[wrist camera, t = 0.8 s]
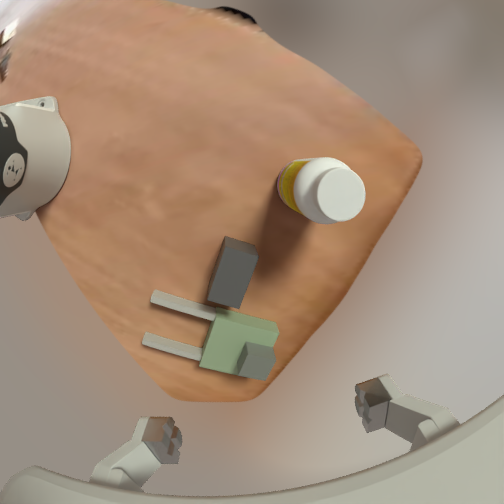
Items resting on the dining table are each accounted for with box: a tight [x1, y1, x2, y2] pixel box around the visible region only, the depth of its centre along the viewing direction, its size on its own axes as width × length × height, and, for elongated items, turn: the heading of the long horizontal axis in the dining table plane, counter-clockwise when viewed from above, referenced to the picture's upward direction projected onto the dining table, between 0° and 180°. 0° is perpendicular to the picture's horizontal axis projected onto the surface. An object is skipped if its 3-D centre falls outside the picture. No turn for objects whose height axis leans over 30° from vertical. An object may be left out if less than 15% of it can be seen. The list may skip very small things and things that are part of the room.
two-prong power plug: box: [142, 290, 279, 381], centre depth 37 cm, size 18×9×6 cm, turn 70°
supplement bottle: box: [277, 157, 365, 224], centre depth 29 cm, size 7×7×13 cm
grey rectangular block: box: [207, 236, 259, 309], centre depth 35 cm, size 7×4×5 cm, turn 160°
